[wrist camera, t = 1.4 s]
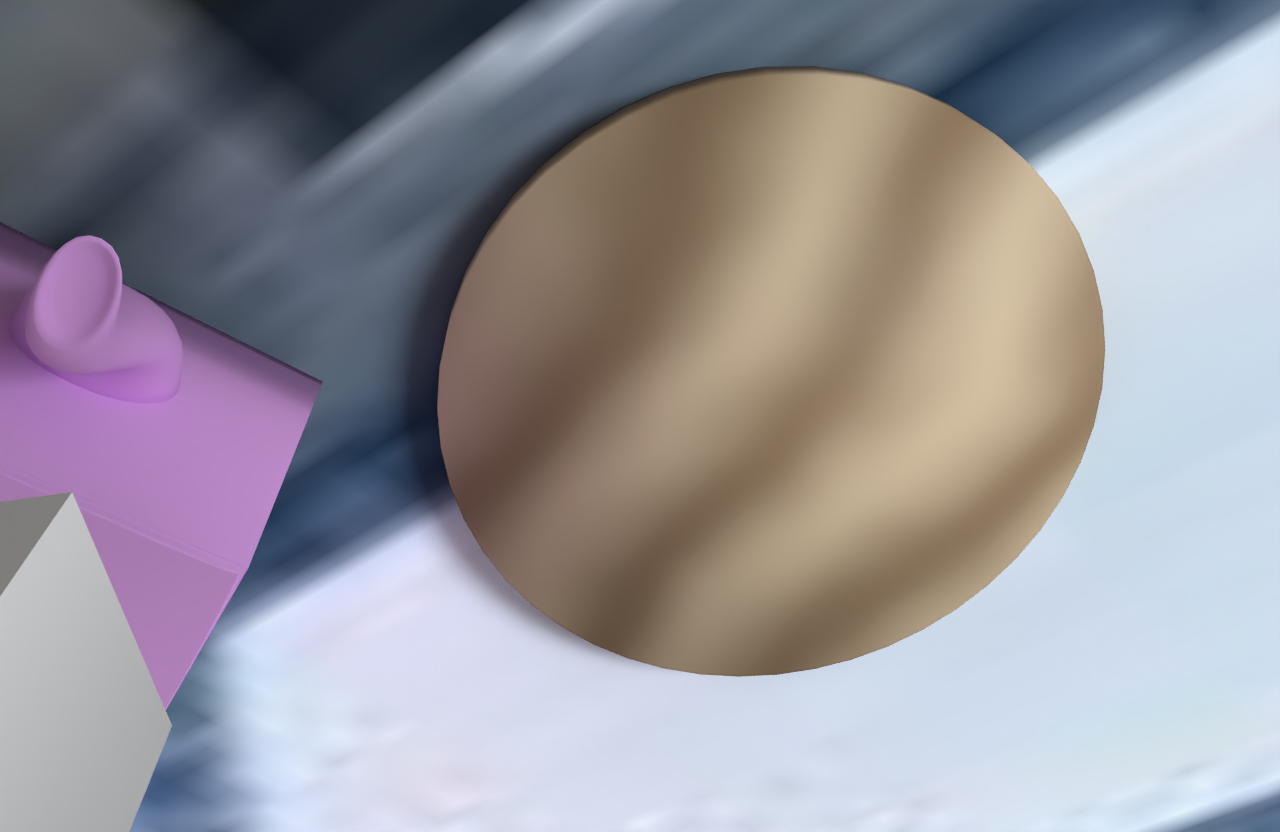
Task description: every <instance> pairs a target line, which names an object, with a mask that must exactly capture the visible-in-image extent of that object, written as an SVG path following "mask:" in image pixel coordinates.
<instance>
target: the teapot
mask: <svg viewBox="0 0 1280 832" xmlns="http://www.w3.org/2000/svg"><path fill="white" fill-rule="evenodd" d="M321 385H322V381H320V380H318V379H316V378H314V377H312V376H310V375H308V374H306V373H304V372H302V371H300V370H298V369H296V368H294V367H292V366H290V365H288V364H286V363H284V362H282V361H280V360H278V359H276V358H274V357H272V356H270V355H268V354H266V353H264V352H262V351H260V350H258V349H256V348H254V347H252V346H249V345H247V344H245V343H243V342H241V341H239V340H237V339H235V338H233V337H231V336H229V335H227V334H225V333H223V332H221V331H219V330H217V329H215V328H213V327H211V326H209V325H207V324H205V323H203V322H201V321H199V320H197V319H195V318H193V317H191V316H189V315H187V314H185V313H183V312H181V311H179V310H177V309H175V308H173V307H171V306H169V305H167V304H165V303H163V302H161V301H159V300H157V299H154V298H152V297H150V296H148V295H146V294H144V293H142V292H140V291H138V290H136V289H134V288H132V287H130V286H128V285H126V284H124V283H122V270H121V266H120V262H119V257H118V256H117V254H116V252H115V251H114V249H113V247H112V246H111V245H109V244H108V243H107V242H105V241H104V240H103V239H101V238H97V237H94V236H90V235H88V236H80V237H76V238H74V239H72V240H70V241H68V242H67V243H65V244H64V245H63V246H62V247H61V248H60V249H58V250H55V249H53V248H51V247H49V246H47V245H45V244H43V243H41V242H39V241H37V240H35V239H33V238H31V237H29V236H27V235H25V234H23V233H21V232H19V231H17V230H15V229H13V228H11V227H9V226H7V225H5V224H3V223H1V222H0V502H3V501H10V500H18V499H25V498H32V497H39V496H46V495H54V494H61V493H68V492H72V493H73V495H74V498H75V500H76V502H77V505H78V507H79V509H80V512H81V514H82V516H83V519H84V521H85V523H86V526H87V528H88V530H89V533H90V535H91V537H92V540H93V542H94V544H95V547H96V549H97V551H98V554H99V556H100V558H101V561H102V563H103V565H104V568H105V570H106V572H107V575H108V577H109V580H110V582H111V584H112V587H113V589H114V591H115V594H116V596H117V598H118V601H119V603H120V605H121V608H122V610H123V612H124V615H125V617H126V619H127V622H128V624H129V626H130V629H131V631H132V633H133V636H134V638H135V640H136V643H137V645H138V647H139V650H140V652H141V654H142V657H143V659H144V661H145V664H146V666H147V668H148V671H149V673H150V675H151V678H152V680H153V682H154V685H155V687H156V689H157V692H158V694H159V697H160V699H161V701H162V704H163V706H164V708H165V711H166V709H167V707H168V706H169V704H170V702H171V701H172V699H173V697H174V695H175V694H176V692H177V690H178V688H179V687H180V685H181V683H182V682H183V680H184V678H185V676H186V675H187V673H188V671H189V669H190V668H191V666H192V664H193V663H194V661H195V659H196V657H197V656H198V654H199V652H200V650H201V649H202V647H203V645H204V644H205V642H206V640H207V638H208V637H209V635H210V633H211V631H212V630H213V628H214V626H215V625H216V623H217V621H218V619H219V618H220V616H221V614H222V612H223V611H224V609H225V607H226V606H227V604H228V602H229V600H230V599H231V597H232V595H233V593H234V592H235V590H236V588H237V587H238V585H239V583H240V581H241V580H242V578H243V576H244V574H245V573H246V571H247V569H248V567H249V565H250V562H251V560H252V557H253V555H254V552H255V550H256V547H257V545H258V542H259V540H260V537H261V535H262V532H263V530H264V527H265V525H266V522H267V520H268V517H269V515H270V512H271V510H272V507H273V505H274V502H275V500H276V497H277V495H278V492H279V490H280V487H281V485H282V482H283V480H284V477H285V475H286V472H287V470H288V467H289V465H290V462H291V460H292V457H293V455H294V452H295V450H296V447H297V445H298V442H299V440H300V437H301V435H302V432H303V430H304V427H305V425H306V422H307V420H308V417H309V415H310V412H311V410H312V407H313V405H314V402H315V400H316V397H317V395H318V392H319V390H320V387H321Z"/></svg>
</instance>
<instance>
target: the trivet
mask: <svg viewBox="0 0 1280 832" xmlns="http://www.w3.org/2000/svg"><path fill="white" fill-rule="evenodd" d="M1104 357H1105V340H1104V325H1103V310H1102V305H1101V301H1100V297H1099V292H1098V288H1097V283H1096V279H1095V274H1094V270H1093V268H1092V265H1091V263H1090V260H1089V258H1088V255H1087V252H1086V250H1085V247H1084V245H1083V242H1082V240H1081V237H1080V235H1079V233H1078V231H1077V229H1076V227H1075V226H1074V224H1073V222H1072V221H1071V219H1070V217H1069V216H1068V214H1067V212H1066V211H1065V209H1064V207H1063V205H1062V204H1061V202H1060V200H1059V199H1058V197H1057V196H1056V195H1055V194H1054V193H1053V191H1052V190H1051V189H1050V188H1049V186H1048V185H1047V184H1046V183H1045V182H1044V180H1043V179H1042V178H1041V177H1040V176H1039V174H1038V173H1037V172H1036V171H1035V170H1034V168H1033V167H1032V166H1031V165H1030V164H1029V163H1028V162H1027V161H1025V160H1024V159H1023V158H1022V157H1021V156H1020V155H1019V154H1017V153H1016V152H1015V151H1014V150H1013V149H1012V148H1011V147H1009V146H1008V145H1007V144H1006V143H1005V142H1004V141H1003V140H1001V139H1000V138H999V137H998V136H996V135H995V134H994V133H992V132H991V131H989V130H988V129H986V128H985V127H983V126H982V125H980V124H979V123H977V122H976V121H974V120H972V119H971V118H969V117H968V116H966V115H965V114H963V113H961V112H960V111H958V110H957V109H955V108H954V107H952V106H950V105H949V104H947V103H945V102H943V101H941V100H939V99H936V98H934V97H932V96H930V95H927V94H925V93H923V92H920V91H918V90H916V89H914V88H911V87H909V86H907V85H904V84H901V83H897V82H893V81H890V80H886V79H883V78H879V77H875V76H872V75H868V74H864V73H861V72H853V71H846V70H838V69H830V68H822V67H814V66H802V67H761V68H754V69H747V70H741V71H734V72H727V73H720V74H715V75H711V76H708V77H704V78H701V79H697V80H694V81H690V82H687V83H683V84H680V85H676V86H673V87H669V88H667V89H665V90H662V91H660V92H658V93H656V94H653V95H651V96H649V97H646V98H644V99H642V100H639V101H637V102H635V103H633V104H630V105H628V106H626V107H624V108H622V109H620V110H619V111H617V112H615V113H614V114H612V115H610V116H609V117H607V118H605V119H604V120H602V121H600V122H599V123H597V124H595V125H594V126H592V127H590V128H589V129H587V130H585V131H584V132H582V133H581V134H580V135H578V136H577V137H576V138H575V139H573V140H572V141H571V142H570V143H568V144H567V145H566V146H565V147H563V148H562V149H561V150H560V151H558V152H557V153H556V154H555V155H553V156H552V157H551V158H549V159H548V160H547V161H546V162H545V163H544V164H543V165H542V166H541V167H540V168H539V169H538V170H537V171H536V172H535V173H534V174H533V175H532V176H531V177H530V178H529V179H528V180H527V181H526V182H525V184H524V185H523V186H522V187H521V188H520V189H519V190H518V191H517V192H516V193H515V194H514V195H513V196H512V198H511V199H510V200H509V202H508V203H507V204H506V206H505V207H504V209H503V210H502V211H501V213H500V214H499V215H498V217H497V218H496V220H495V221H494V222H493V224H492V225H491V226H490V228H489V229H488V231H487V232H486V234H485V236H484V238H483V239H482V241H481V243H480V245H479V247H478V249H477V251H476V252H475V254H474V256H473V258H472V260H471V262H470V264H469V266H468V267H467V269H466V271H465V274H464V277H463V280H462V282H461V285H460V288H459V291H458V293H457V296H456V299H455V302H454V304H453V307H452V310H451V314H450V319H449V324H448V329H447V333H446V338H445V343H444V348H443V353H442V358H441V363H440V369H439V386H438V404H437V411H438V422H439V433H440V444H441V450H442V454H443V458H444V462H445V466H446V471H447V475H448V479H449V483H450V486H451V488H452V491H453V493H454V496H455V498H456V501H457V503H458V505H459V508H460V510H461V513H462V515H463V518H464V520H465V522H466V523H467V525H468V527H469V528H470V530H471V532H472V533H473V535H474V537H475V539H476V540H477V542H478V544H479V545H480V547H481V549H482V550H483V552H484V553H485V554H486V556H487V557H488V558H489V559H490V561H491V562H492V563H493V564H494V566H495V567H496V568H497V569H498V571H499V572H500V573H501V574H502V576H503V577H504V578H505V579H506V580H507V581H508V582H509V583H510V584H511V585H512V586H513V587H514V588H515V589H516V590H517V591H518V592H519V593H520V594H521V595H522V596H523V597H524V598H525V599H527V600H528V601H529V602H530V603H531V604H532V605H533V606H534V607H536V608H537V609H538V610H540V611H541V612H543V613H544V614H545V615H547V616H548V617H549V618H551V619H552V620H554V621H555V622H556V623H558V624H559V625H560V626H562V627H563V628H565V629H567V630H569V631H571V632H573V633H574V634H576V635H578V636H580V637H582V638H583V639H585V640H587V641H589V642H591V643H592V644H594V645H597V646H599V647H602V648H604V649H607V650H609V651H611V652H614V653H616V654H619V655H621V656H624V657H626V658H629V659H633V660H636V661H640V662H643V663H647V664H650V665H654V666H658V667H661V668H665V669H672V670H678V671H684V672H690V673H696V674H705V675H722V676H757V675H777V674H784V673H790V672H797V671H804V670H810V669H816V668H820V667H824V666H828V665H832V664H836V663H840V662H844V661H848V660H852V659H854V658H857V657H860V656H863V655H865V654H868V653H871V652H874V651H876V650H879V649H882V648H885V647H887V646H890V645H892V644H894V643H896V642H898V641H900V640H902V639H904V638H906V637H908V636H911V635H913V634H915V633H917V632H919V631H921V630H923V629H925V628H926V627H928V626H930V625H931V624H933V623H935V622H936V621H938V620H939V619H941V618H943V617H944V616H946V615H948V614H949V613H951V612H953V611H954V610H956V609H957V608H959V607H960V606H961V605H963V604H964V603H965V602H966V601H968V600H969V599H970V598H972V597H973V596H974V595H976V594H977V593H978V592H980V591H981V590H982V589H984V588H985V587H986V586H987V585H989V584H990V583H991V582H992V581H993V580H994V579H995V578H996V577H997V576H998V575H999V574H1000V573H1001V572H1002V571H1003V570H1004V569H1006V568H1007V567H1008V566H1009V565H1010V564H1011V563H1012V562H1013V561H1014V560H1015V559H1016V558H1017V557H1018V556H1019V554H1020V553H1021V552H1022V551H1023V550H1024V549H1025V547H1026V546H1027V545H1028V544H1029V543H1030V542H1031V540H1032V539H1033V538H1034V537H1035V536H1036V535H1037V533H1038V532H1039V531H1040V530H1041V529H1042V527H1043V526H1044V524H1045V523H1046V521H1047V520H1048V518H1049V517H1050V515H1051V514H1052V512H1053V511H1054V509H1055V508H1056V506H1057V505H1058V503H1059V502H1060V500H1061V499H1062V497H1063V496H1064V494H1065V492H1066V490H1067V488H1068V486H1069V484H1070V482H1071V480H1072V478H1073V476H1074V474H1075V472H1076V470H1077V468H1078V466H1079V464H1080V462H1081V460H1082V457H1083V454H1084V451H1085V449H1086V446H1087V443H1088V440H1089V438H1090V435H1091V432H1092V429H1093V427H1094V422H1095V418H1096V413H1097V409H1098V404H1099V400H1100V395H1101V391H1102V383H1103V370H1104Z"/></svg>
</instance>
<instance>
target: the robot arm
mask: <svg viewBox="0 0 1280 832" xmlns="http://www.w3.org/2000/svg"><path fill="white" fill-rule="evenodd" d="M171 727H172V725H171V722H170V720H169V718H168V715H167V713H166V711H165V708H164V706H163V704H162V701H161V699H160V697H159V694H158V692H157V689H156V687H155V685H154V682H153V680H152V678H151V675H150V673H149V671H148V668H147V666H146V664H145V661H144V659H143V657H142V654H141V652H140V650H139V647H138V645H137V643H136V640H135V638H134V636H133V633H132V631H131V629H130V626H129V624H128V622H127V619H126V617H125V615H124V612H123V610H122V608H121V605H120V603H119V601H118V598H117V596H116V594H115V591H114V589H113V587H112V584H111V582H110V580H109V577H108V575H107V572H106V570H105V568H104V565H103V563H102V561H101V558H100V556H99V554H98V551H97V549H96V547H95V544H94V542H93V540H92V537H91V535H90V533H89V530H88V528H87V526H86V523H85V521H84V519H83V516H82V514H81V512H80V509H79V507H78V505H77V502H76V500H75V498H74V495H73V493H72V492H68V493H61V494H54V495H46V496H39V497H32V498H25V499H18V500H10V501H3V502H0V832H129V831H130V829H131V826H132V824H133V821H134V819H135V816H136V814H137V811H138V809H139V806H140V804H141V801H142V799H143V796H144V794H145V791H146V789H147V786H148V784H149V781H150V779H151V777H152V774H153V772H154V769H155V767H156V764H157V762H158V759H159V757H160V754H161V752H162V749H163V747H164V744H165V742H166V739H167V737H168V734H169V732H170V729H171Z"/></svg>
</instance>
